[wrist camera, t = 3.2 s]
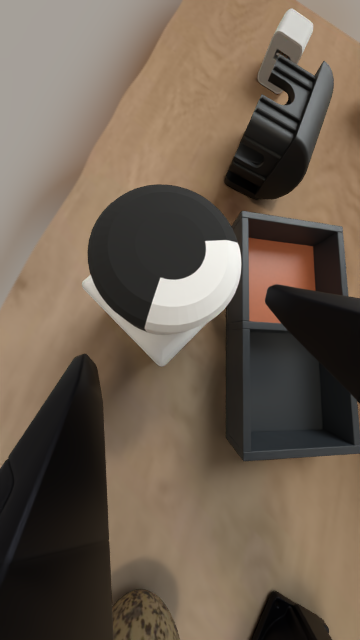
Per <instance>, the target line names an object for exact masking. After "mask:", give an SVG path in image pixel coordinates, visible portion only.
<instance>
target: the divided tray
mask: <svg viewBox="0 0 360 640" xmlns="http://www.w3.org/2000/svg"><path fill="white" fill-rule="evenodd" d="M231 227H232V229H233V232H234V234H235V236H236V238H237V241H238V244H239V248H240V253H241V275H240V280H239V284H238V287H237V289H236V292H235V294H234V296H233V297H232V299H231V301H230V302H229V304H228V305H227V307H226V439H227V440H228V441H229V443H230V444H231V445H232V447H233V448H234V449H235V451H236V452H237V453H238V455H239V456H240V457H241V459H242V460H243V461H255V460H270V459H285V458H301V457H316V456H331V455H346V454H360V430H359V418H358V406H357V400H356V399H355V398H354V397H353V396H352V395H351V394H350V393H349V392H348V391H347V390H346V389H345V388H344V387H343V386H342V385H341V384H340V383H339V382H338V381H337V380H336V379H335V378H334V377H333V376H332V375H331V374H330V373H329V372H328V371H327V370H326V369H325V368H324V367H323V366H322V365H321V363H320V362H319V361H318V360H317V359H316V358H315V357H314V356H313V355H312V354H311V353H310V352H309V351H308V350H307V349H306V348H305V347H304V346H303V345H302V344H301V343H300V342H299V341H298V340H297V339H296V338H295V337H294V336H293V335H292V334H291V333H290V332H289V331H288V330H287V329H286V328H285V327H284V326H283V325H282V324H281V322H280V321H279V320H278V319H277V317H276V316H275V315H274V314H273V312H272V311H271V310H270V309H269V308H268V306H267V305H266V303H265V297H266V293H267V289H268V287H270V286H272V285H275V284H279V285H284V286H290V287H296V288H302V289H308V290H313V291H319V292H325V293H331V294H337V295H343V296H348V287H347V275H346V263H345V251H344V240H343V233H342V232H343V228H342V226H335V225H329V224H323V223H316V222H310V221H304V220H297V219H291V218H285V217H279V216H272V215H266V214H260V213H253V212H247V211H241V213H240V214H239V216H238V217H237V219H236V220H235V222H234V223H233V225H232V226H231Z"/></svg>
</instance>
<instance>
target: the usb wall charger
mask: <svg viewBox="0 0 360 640" xmlns="http://www.w3.org/2000/svg"><path fill="white" fill-rule="evenodd" d="M312 31H313V24H312V22H311V21H309V20H308V19H307V18H305V17H304V16H302V15H301V14H299V13H298V12H297V11H295V10H294V9H289V10H288V11H287V12H286V13H285V15H284V16H283V18H282V20H281V22H280V24H279V26H278V28H277V29H276V31H275V33H274V35H273V37H272V39H271V42H270V44H269V47H268V49H267V52H266V54H265V57H264V60H263V62H262V65H261V67H260V70H259V72H258V81H259V83H261V84H262V85H264V86H265V87H267V88H268V89H270V90H272V91H273V92H275V93H276V94H279V93H281V92H282V91H283V90H282V89H280V88H278V87H277V86H275V85H273V84H272V83H270V82H268V79H269V76H270V74H271V72H272V70H273V67H274V65H275V63H276V60H277V58H278V56H279V54H280V55H282V56H284V57H285V58H287V59H288V60H290V61H292V62H293V63H295V64H296V65H297V63H298V62H299V60H300V58H301V56H302V53H303V51H304V49H305V47H306V45H307V43H308V41H309V39H310V37H311V34H312Z"/></svg>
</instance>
